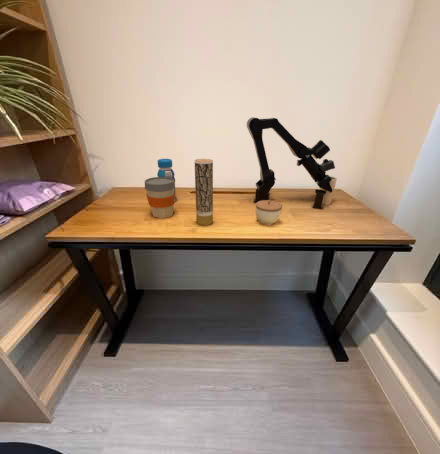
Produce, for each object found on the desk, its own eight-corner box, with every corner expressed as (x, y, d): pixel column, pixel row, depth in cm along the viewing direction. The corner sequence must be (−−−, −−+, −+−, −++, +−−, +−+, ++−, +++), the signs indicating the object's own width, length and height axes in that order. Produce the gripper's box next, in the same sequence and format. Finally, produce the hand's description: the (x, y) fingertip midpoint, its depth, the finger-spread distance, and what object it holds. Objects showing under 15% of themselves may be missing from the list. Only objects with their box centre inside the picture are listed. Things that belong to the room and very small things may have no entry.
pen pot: (317, 203, 127) (322, 178, 121) (318, 199, 132) (323, 175, 126) (330, 205, 125) (336, 180, 119) (330, 201, 131) (336, 177, 124)
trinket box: (282, 227, 102) (285, 205, 97) (255, 226, 102) (257, 205, 97) (277, 217, 111) (280, 196, 107) (253, 216, 111) (254, 196, 107)
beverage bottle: (157, 202, 125) (152, 161, 115) (163, 197, 132) (159, 157, 122) (173, 204, 123) (170, 162, 114) (178, 198, 131) (176, 158, 121)
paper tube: (206, 227, 101) (206, 163, 89) (193, 223, 104) (190, 160, 92) (215, 221, 106) (216, 160, 94) (202, 217, 109) (201, 158, 97)
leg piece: (311, 208, 121) (315, 192, 117) (312, 204, 125) (315, 189, 121) (322, 209, 120) (325, 193, 116) (322, 206, 124) (326, 190, 120)
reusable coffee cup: (142, 216, 109) (137, 182, 102) (158, 207, 119) (154, 175, 112) (168, 221, 105) (164, 186, 98) (181, 211, 116) (179, 178, 108)
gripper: (331, 158, 110) (351, 184, 114) (321, 151, 126) (339, 174, 130) (309, 175, 114) (329, 199, 119) (302, 166, 130) (320, 188, 135)
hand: (330, 189), depth 126 cm, fingers closed on pen pot, 6 cm apart
